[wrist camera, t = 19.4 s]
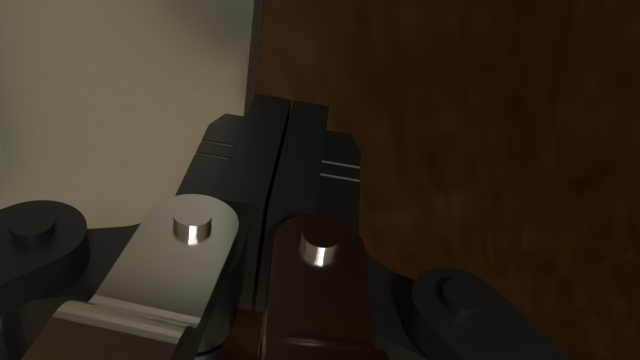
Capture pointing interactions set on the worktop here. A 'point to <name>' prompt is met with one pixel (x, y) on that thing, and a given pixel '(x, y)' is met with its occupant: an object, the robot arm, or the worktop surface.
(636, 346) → the worktop surface
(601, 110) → the worktop surface
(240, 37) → the vise base
